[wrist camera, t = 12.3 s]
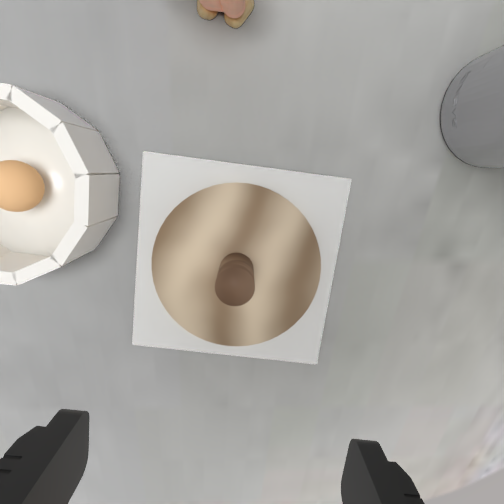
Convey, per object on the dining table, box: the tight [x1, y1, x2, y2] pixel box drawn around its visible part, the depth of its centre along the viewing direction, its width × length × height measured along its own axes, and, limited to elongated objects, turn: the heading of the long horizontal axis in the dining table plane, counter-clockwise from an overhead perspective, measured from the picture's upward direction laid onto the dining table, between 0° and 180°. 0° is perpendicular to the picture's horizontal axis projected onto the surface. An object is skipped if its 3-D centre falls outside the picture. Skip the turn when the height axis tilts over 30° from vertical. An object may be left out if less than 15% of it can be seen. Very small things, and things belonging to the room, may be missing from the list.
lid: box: [152, 182, 321, 346], centre depth 29 cm, size 15×15×6 cm
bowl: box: [0, 83, 120, 285], centre depth 27 cm, size 14×14×6 cm
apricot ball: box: [0, 160, 45, 212], centre depth 27 cm, size 4×4×4 cm
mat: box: [132, 151, 352, 365], centre depth 32 cm, size 18×18×1 cm
